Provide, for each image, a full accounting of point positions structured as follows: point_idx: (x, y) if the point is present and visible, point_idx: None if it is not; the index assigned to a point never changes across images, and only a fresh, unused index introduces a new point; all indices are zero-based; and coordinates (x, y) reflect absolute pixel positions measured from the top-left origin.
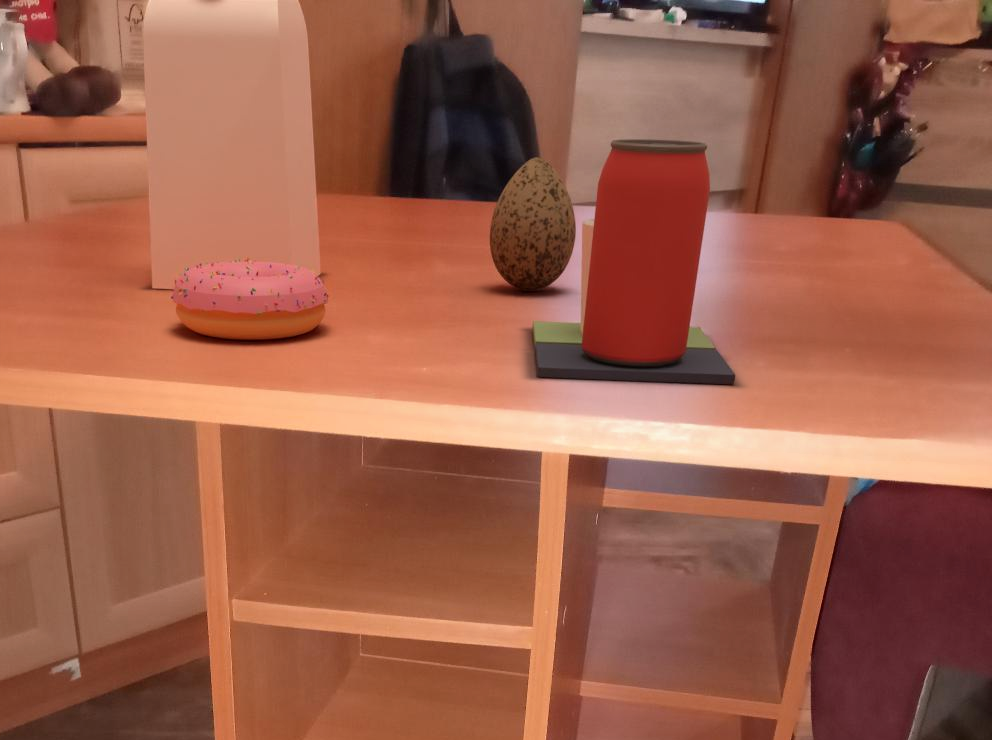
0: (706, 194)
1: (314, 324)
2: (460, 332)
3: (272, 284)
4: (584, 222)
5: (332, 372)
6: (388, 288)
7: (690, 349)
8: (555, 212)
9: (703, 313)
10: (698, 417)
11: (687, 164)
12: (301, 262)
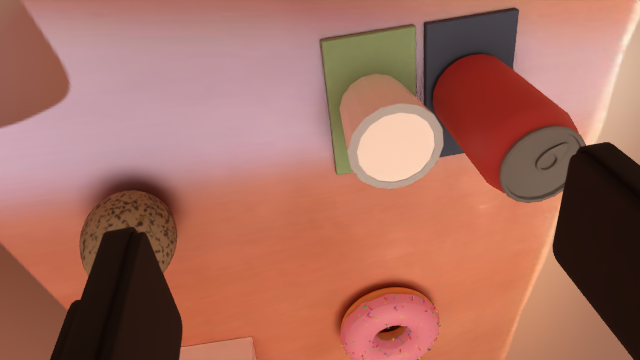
0: (550, 103)
1: (400, 287)
2: (358, 214)
3: (430, 320)
4: (399, 186)
5: (496, 245)
6: (187, 298)
7: (427, 47)
8: (155, 232)
9: (186, 37)
10: (607, 32)
11: (577, 132)
12: (216, 357)
